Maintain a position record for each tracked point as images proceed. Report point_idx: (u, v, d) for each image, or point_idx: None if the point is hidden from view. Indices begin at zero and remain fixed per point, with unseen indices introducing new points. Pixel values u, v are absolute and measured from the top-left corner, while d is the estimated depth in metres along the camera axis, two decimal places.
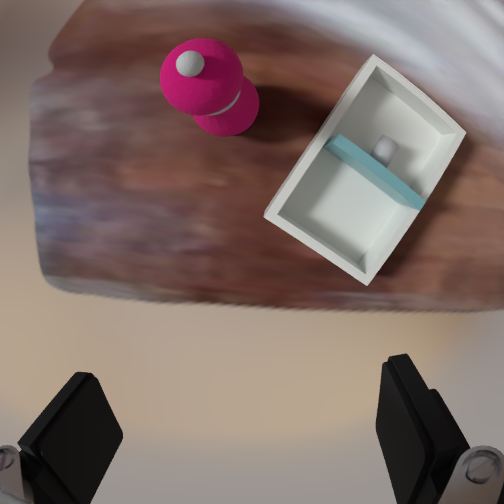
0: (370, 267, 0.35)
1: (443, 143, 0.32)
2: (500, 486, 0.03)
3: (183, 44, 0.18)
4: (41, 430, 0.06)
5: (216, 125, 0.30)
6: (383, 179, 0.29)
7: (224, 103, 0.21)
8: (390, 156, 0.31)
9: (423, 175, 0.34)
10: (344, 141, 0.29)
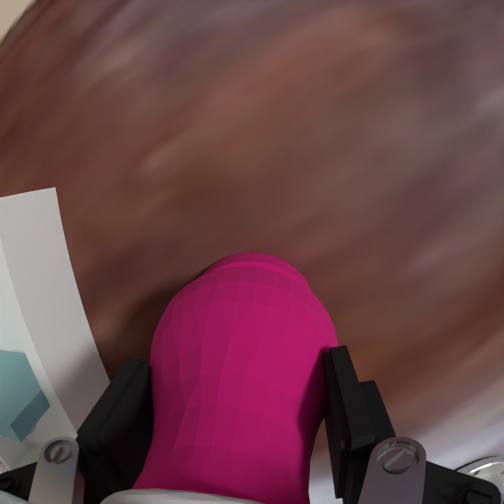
0: None
1: (13, 444, 0.19)
2: (423, 472, 0.05)
3: None
4: (102, 418, 0.07)
5: (183, 342, 0.09)
6: None
7: None
8: None
9: None
10: (8, 433, 0.11)
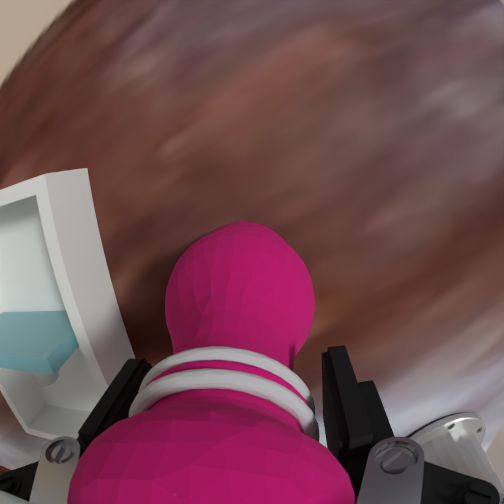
0: None
1: (31, 404, 0.24)
2: (421, 472, 0.05)
3: None
4: (103, 417, 0.07)
5: (196, 277, 0.12)
6: None
7: None
8: None
9: None
10: (42, 368, 0.16)
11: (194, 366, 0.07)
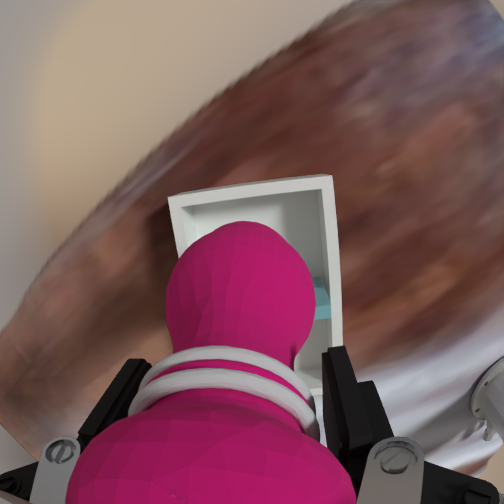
0: (182, 217, 0.28)
1: None
2: (422, 471, 0.05)
3: None
4: (104, 417, 0.07)
5: (196, 276, 0.12)
6: None
7: None
8: None
9: None
10: (321, 314, 0.26)
11: (194, 365, 0.07)
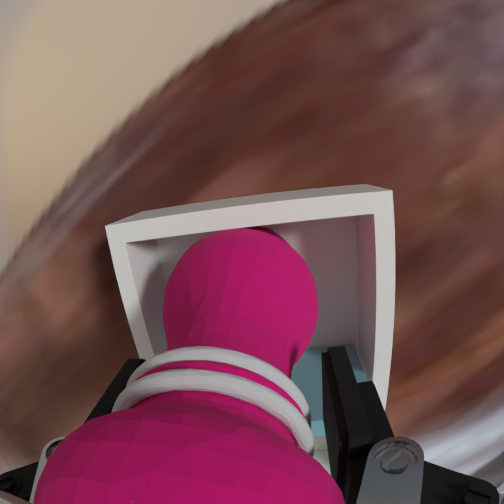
0: (129, 260, 0.16)
1: None
2: (421, 472, 0.05)
3: None
4: None
5: (193, 277, 0.12)
6: None
7: None
8: None
9: None
10: None
11: (178, 366, 0.06)
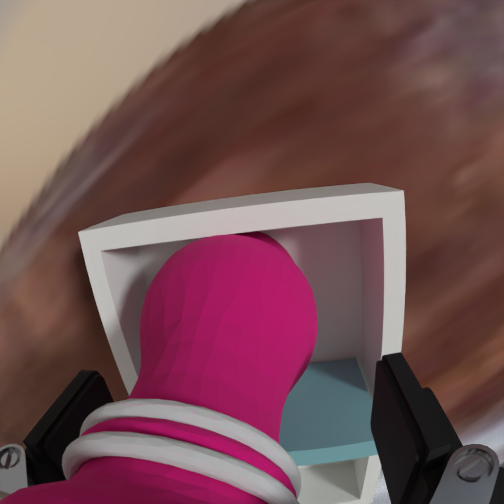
0: (105, 271, 0.14)
1: None
2: (492, 484, 0.04)
3: None
4: (47, 429, 0.06)
5: (169, 294, 0.10)
6: None
7: None
8: None
9: None
10: (365, 452, 0.12)
11: (128, 426, 0.04)
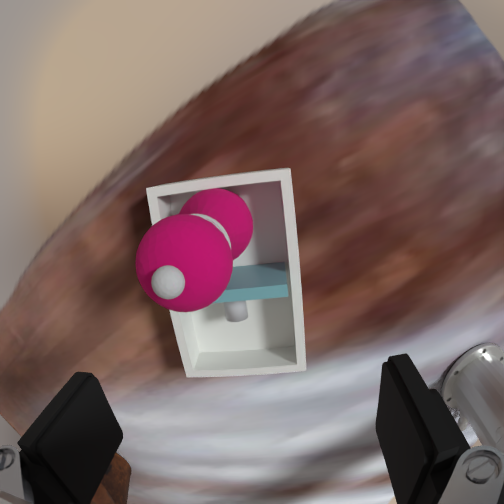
0: (158, 206, 0.31)
1: (194, 350, 0.38)
2: (500, 486, 0.03)
3: (211, 291, 0.18)
4: (41, 430, 0.06)
5: (191, 205, 0.27)
6: None
7: None
8: (228, 307, 0.33)
9: (186, 313, 0.36)
10: (279, 293, 0.29)
11: None
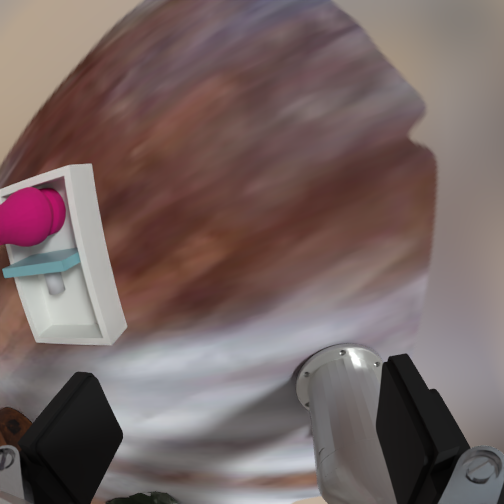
0: None
1: (42, 320, 0.39)
2: (500, 485, 0.03)
3: None
4: (41, 430, 0.06)
5: None
6: (26, 266, 0.31)
7: None
8: (46, 282, 0.35)
9: (33, 288, 0.38)
10: (58, 268, 0.31)
11: None
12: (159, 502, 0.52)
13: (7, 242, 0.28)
